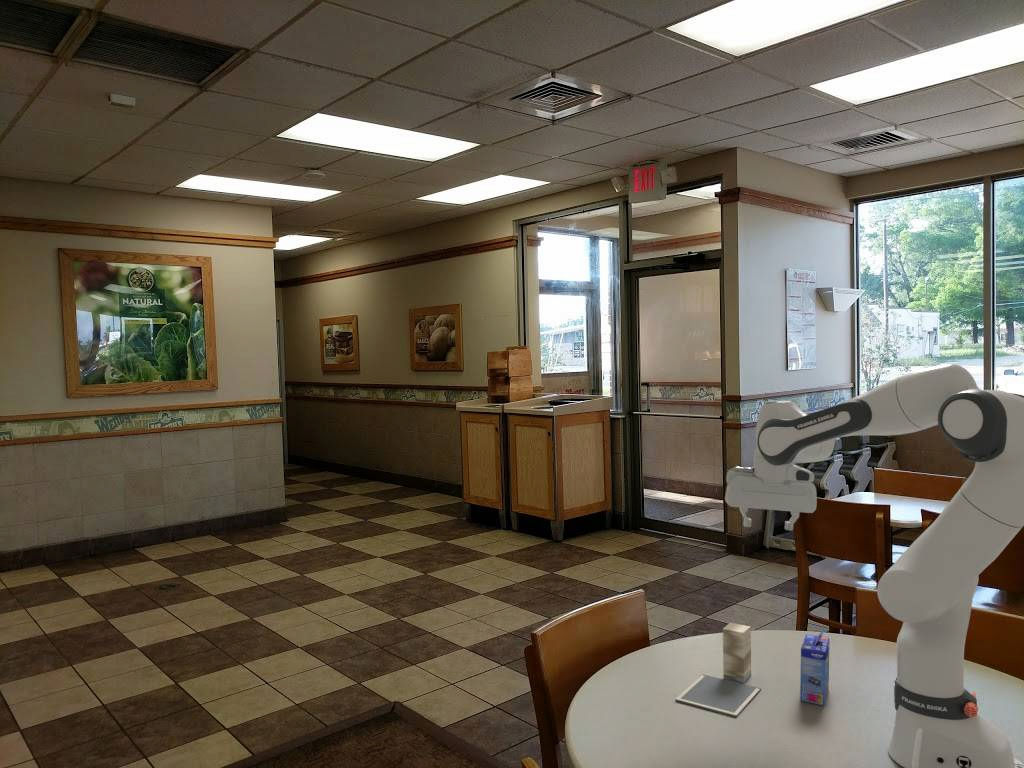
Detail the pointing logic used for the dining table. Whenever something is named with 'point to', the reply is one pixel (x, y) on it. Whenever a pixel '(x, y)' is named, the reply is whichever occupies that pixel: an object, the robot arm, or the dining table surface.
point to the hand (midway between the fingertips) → (767, 528)
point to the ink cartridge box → (814, 669)
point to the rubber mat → (718, 695)
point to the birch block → (737, 652)
